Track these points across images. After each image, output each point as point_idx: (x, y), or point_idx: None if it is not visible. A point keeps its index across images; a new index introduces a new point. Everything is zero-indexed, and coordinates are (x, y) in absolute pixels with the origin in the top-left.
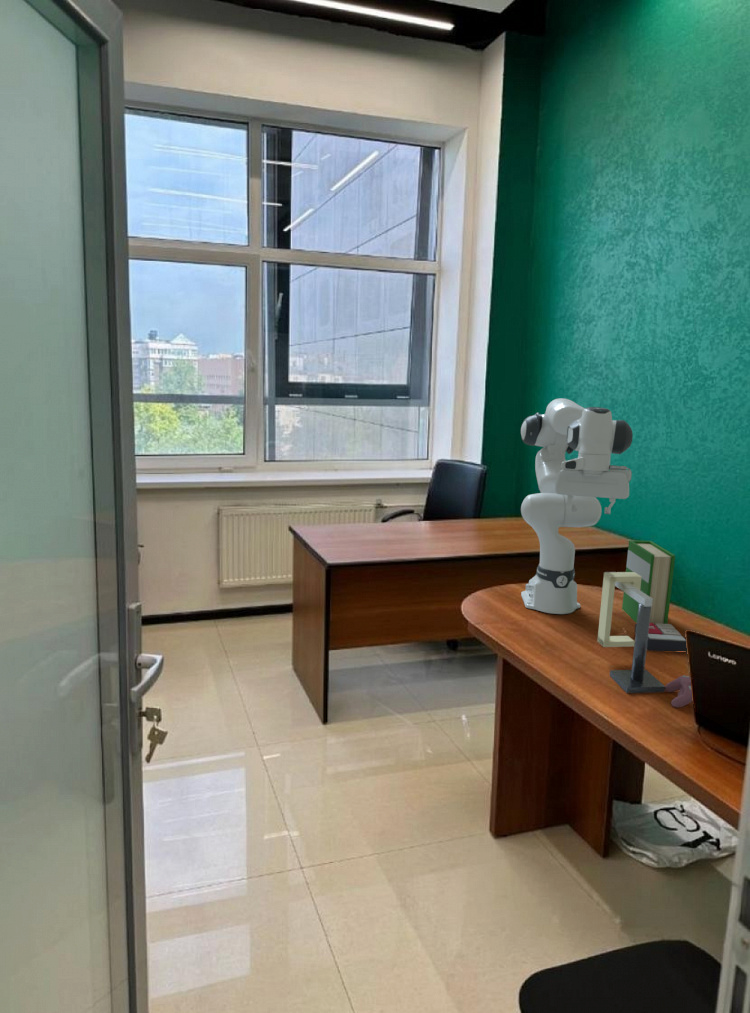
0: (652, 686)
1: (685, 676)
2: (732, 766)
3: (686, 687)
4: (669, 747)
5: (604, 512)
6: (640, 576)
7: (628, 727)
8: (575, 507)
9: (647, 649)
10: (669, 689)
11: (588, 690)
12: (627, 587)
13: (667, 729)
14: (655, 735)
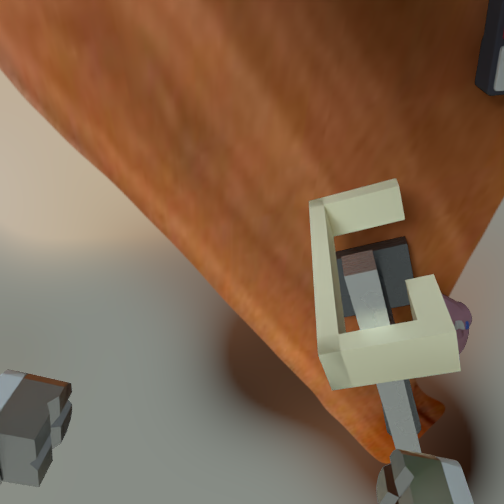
0: (391, 306)
1: (458, 327)
2: (422, 430)
3: None
4: (359, 412)
5: (377, 494)
6: (456, 371)
7: (318, 386)
8: (48, 461)
9: (475, 83)
10: None
11: (273, 311)
12: (380, 396)
13: (372, 384)
14: (350, 396)
